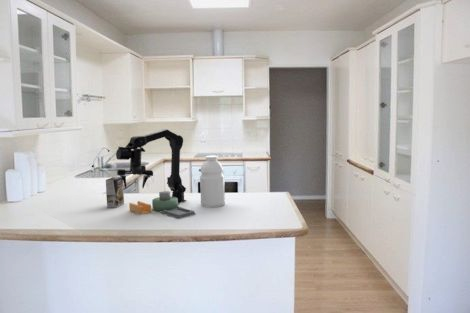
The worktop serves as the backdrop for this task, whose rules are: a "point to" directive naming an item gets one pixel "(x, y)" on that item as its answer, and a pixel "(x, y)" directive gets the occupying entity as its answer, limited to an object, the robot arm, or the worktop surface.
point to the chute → (140, 207)
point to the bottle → (212, 183)
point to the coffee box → (114, 192)
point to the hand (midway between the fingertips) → (134, 188)
